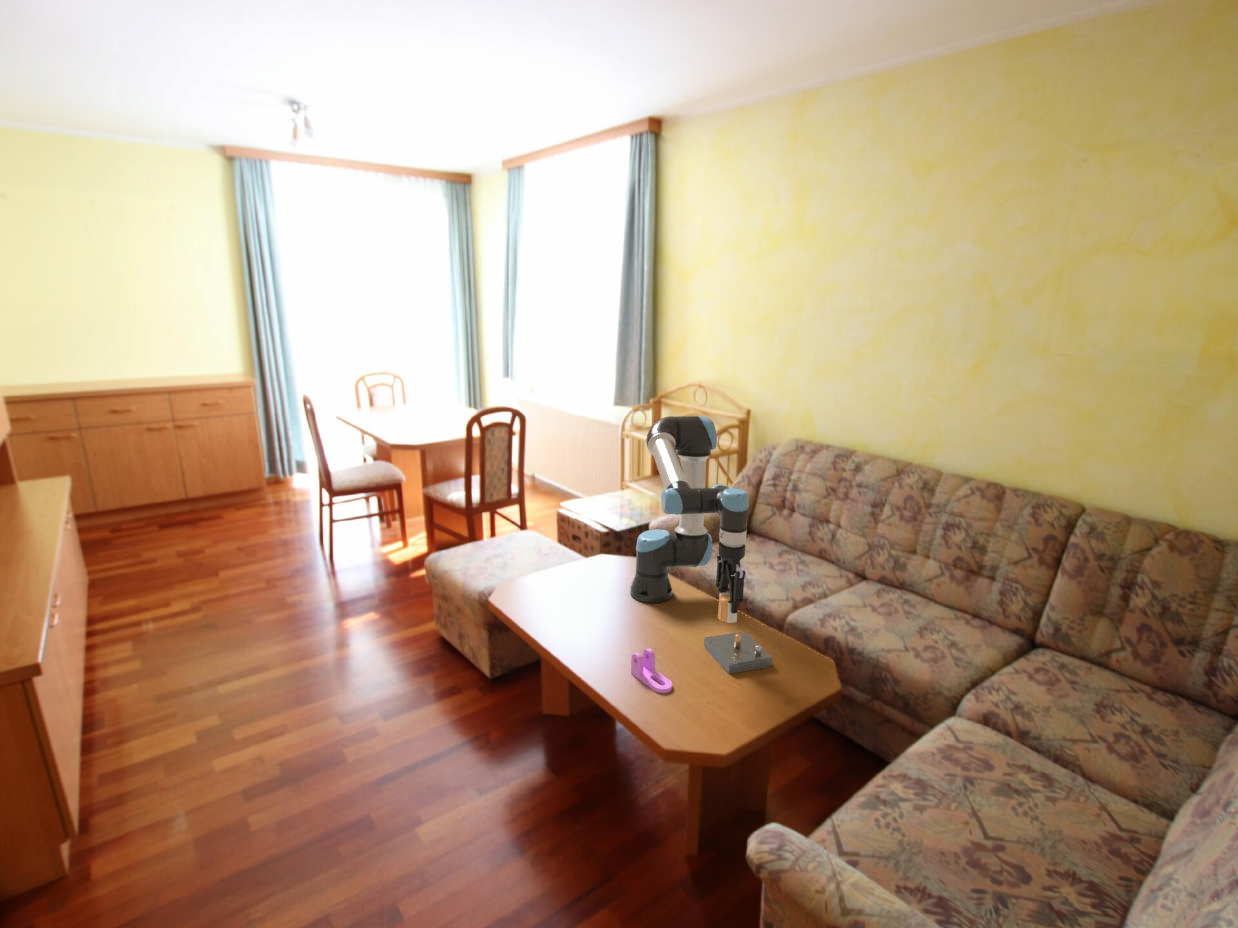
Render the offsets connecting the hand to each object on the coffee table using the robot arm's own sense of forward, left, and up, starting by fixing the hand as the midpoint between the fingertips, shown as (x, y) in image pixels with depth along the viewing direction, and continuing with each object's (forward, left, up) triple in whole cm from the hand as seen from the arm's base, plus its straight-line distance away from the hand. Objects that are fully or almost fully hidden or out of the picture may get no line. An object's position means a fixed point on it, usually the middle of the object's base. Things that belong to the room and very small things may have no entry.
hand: (727, 617), depth 190 cm
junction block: (+1, +4, -13) cm, 14 cm away
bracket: (+5, -25, -13) cm, 29 cm away
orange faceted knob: (0, 0, 0) cm, 0 cm away
